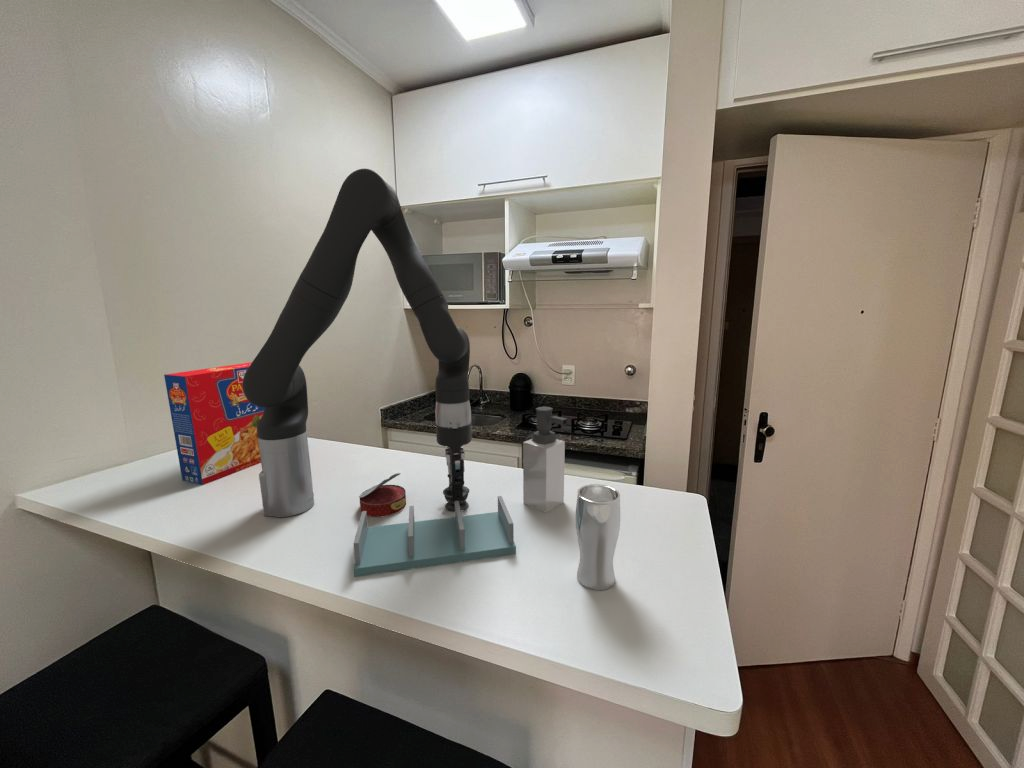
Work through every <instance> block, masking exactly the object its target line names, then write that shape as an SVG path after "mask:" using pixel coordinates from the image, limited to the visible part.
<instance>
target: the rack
mask: <svg viewBox="0 0 1024 768" xmlns="http://www.w3.org/2000/svg"><path fill="white" fill-rule="evenodd" d="M408 507H409V509H408V522H403V523H394V524H393V523H392V524H385V525H378V526H377V525H376V526H368V516H367V511H362V512H361V514H360V517H359V522H358V525H357V528H356V529H357V530H356V533H355V537H354V540H353V554H354V564H353V569H352V570H353V577H354V578H355V577H356V578H357V577H362V576H363V577H364V576H371V575H377V574H384V573H392V572H399V571H405V570H413V569H418V568H419V569H420V568H425V567H426V568H427V567H433V566H440V565H448V564H455V563H461V562H467V561H475V560H482V559H489V558H496V557H504V556H510V555H516V554H517V546H516V543H515V541H514V534H515V533H514V522H513V519H512V517H511V515H510V513H509V510H508V507H507V505H506V503H505V501H504V498H503V496H502V495H498V496H497V511H495V512H486V513H485V512H484V513H478V514H477V513H475V514H470V515H462V511H461V510H460V505H459V501H455V512H454V516H453V517H445V518H436V519H435V518H434V519H427V520H425V519H424V520H418V521H415V506H414V505H409V506H408Z"/></svg>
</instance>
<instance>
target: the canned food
mask: <svg viewBox="0 0 1024 768" xmlns="http://www.w3.org/2000/svg"><path fill="white" fill-rule="evenodd" d="M400 475H401V473H400V472H399V473H394V474H392V475H390V476H389V477H388V478H387V479H384V480H382V481H380V483H378V484H376V485H374V486H371V487H370V488H368V489H366V490H365V491H363V492H362V493H361V494H360V495H359V496H358V497H359V498H358V499H359V505H360V506H359V508H360V512H361V513H362V511H367V517H370V516H371V518H383V517H387V516H393V515H395V514H397V513H399V512H401V511H402V510H403V509H405V507H407V506H406V505H407V495H406V489H405V488H404V487H402V486H401V485H398V484H397V485H396V484H387V483H388V482H390V481H391V480H393V479H395V478H396V477H398V476H400ZM382 516H383V517H382Z"/></svg>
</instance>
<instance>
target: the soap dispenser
mask: <svg viewBox="0 0 1024 768" xmlns="http://www.w3.org/2000/svg"><path fill="white" fill-rule="evenodd" d="M553 410H554V408H553V407H550V406H538V407H536V408H535V411H536V429H537V430H536V431H534V432H533V433H532V438H531V439H528V440H525V441H523V443H522V447H523V448H522V449H523V450H522V451H523V453H522V458H523V459H522V464H523V465H522V466H523V467H522V471H523V472H522V473H523V474H522V475H523V477H522V481H523V483H522V484H523V485H522V487H523V488H522V489H523V492H522V493H523V494H522V495H523V496H522V497H523V504H524V505H527V506H529V507H532V508H533V509H536V510H539V511H540V512H543V513H545V514H546V513H548V512H549V511H551V510H553V509H555V508H557V507H558V506H560V505H562V504H563V503H564V502H565V453H566V452H565V451H566V449H565V448H566V441H565V440H561V439H558V438H557V436H556V432H555V431H553V430H551V429H552V428H553V427H552V426H553V425H552V424H556V425H560V426H566V425H567V424H568V418H566V417H562V416H556V415H553Z"/></svg>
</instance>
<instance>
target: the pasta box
mask: <svg viewBox="0 0 1024 768" xmlns="http://www.w3.org/2000/svg"><path fill="white" fill-rule="evenodd" d="M252 362H253V361H251V362H245V363H237V364H231V365H229V364H228V365H224V366H217V367H210V368H202V369H195V370H189V371H188V370H187V371H180V372H174V373H166V374H163V377H164V381H165V383H164V384H165V388H166V394H167V400H168V405H169V412H170V417H171V422H172V427H173V428H172V429H173V435H174V441H175V446H176V452H177V456H178V463H179V469H180V475H181V481H182V482H187V483H191V484H196V485H199V486H204V485H207V484H210V483H212V482H215V481H218V480H220V479H223V478H225V477H229V476H230V475H233V474H236V473H238V472H241V471H243V470H246V469H248V468H251V467H253V466H257V465H259V464H261V457H260V450H259V443H258V435H257V424H258V422H259V421H260V419H261V418H262V416H263V413H264V409H265V407H259V406H256V405H254V404H252V403H251V402H249V400H248V399H247V398H246V396H245V395H244V391H243V378H244V375H245V373H246V371H247V369H248V368H249V366H250V365H251V363H252Z"/></svg>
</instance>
